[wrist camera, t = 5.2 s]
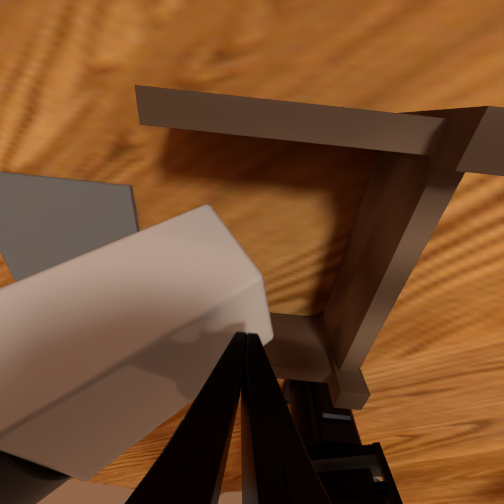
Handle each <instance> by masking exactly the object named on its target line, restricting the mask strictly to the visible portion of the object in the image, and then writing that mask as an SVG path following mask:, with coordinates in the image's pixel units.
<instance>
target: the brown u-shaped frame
mask: <svg viewBox="0 0 504 504" xmlns="http://www.w3.org/2000/svg"><path fill="white" fill-rule="evenodd" d="M135 92H136V99H137V107H138V114H139V122H140V125H149V126H158V127H167V128H177V129H186V130H196V131H205V132H214V133H224V134H233V135H242V136H252V137H261V138H271V139H280V140H289V141H299V142H308V143H318V144H327V145H336V146H346V147H355V148H364V149H374V151H377V152H378V155H377V158H376V160H375V163H374V166H373V169H372V172H371V175H370V178H369V181H368V184H367V187H366V190H365V193H364V196H363V199H362V202H361V205H360V207H359V210H358V213H357V216H356V219H355V222H354V225H353V228H352V231H351V234H350V237H349V240H348V243H347V246H346V249H345V252H344V254H343V257H342V260H341V263H340V266H339V269H338V272H337V275H336V278H335V281H334V284H333V287H332V290H331V293H330V296H329V299H328V301H327V304H326V307H325V310H324V313H323V315H319V317H318V318H317V317H307V316H298V315H288V314H278V313H270V318H271V323H272V328H273V334H274V336H273V339H272V340H271V341H269V342H268V343H267V344H265V345H264V346H263V347H264V349H265V352H266V354H267V357H268V359H269V361H270V364H271V366H272V369H273V371H274V374H275V376H276V378H282V379H291V380H301V381H311V382H321V383H328V387H329V391H330V395H331V400H332V404H333V407H335V408H345V409H355V410H361V409H362V407H363V406H364V404H365V403H366V401H367V400H368V398H369V396H370V392H369V390H368V387H367V385H366V382H365V380H364V377H363V374H362V372H361V369H360V367H361V365H362V363H363V361H364V360H365V358H366V356H367V354H368V352H369V350H370V348H371V346H372V345H373V343H374V341H375V339H376V337H377V335H378V333H379V332H380V330H381V328H382V326H383V324H384V322H385V320H386V319H387V317H388V315H389V313H390V311H391V309H392V307H393V306H394V304H395V302H396V300H397V298H398V296H399V294H400V293H401V291H402V289H403V287H404V285H405V283H406V281H407V279H408V278H409V276H410V274H411V272H412V270H413V268H414V266H415V265H416V263H417V261H418V259H419V257H420V255H421V253H422V252H423V250H424V248H425V246H426V244H427V242H428V240H429V239H430V237H431V235H432V233H433V231H434V229H435V227H436V226H437V224H438V222H439V220H440V218H441V216H442V214H443V212H444V211H445V209H446V207H447V205H448V203H449V201H450V199H451V198H452V196H453V194H454V192H455V190H456V188H457V186H458V185H459V183H460V181H461V179H462V177H463V175H464V173H465V172H471V173H480V174H490V175H499V176H504V108H503V107H494V106H482V107H469V108H456V109H443V110H430V111H417V112H404V113H390V112H381V111H372V110H362V109H353V108H344V107H335V106H325V105H316V104H307V103H297V102H288V101H279V100H269V99H260V98H251V97H242V96H232V95H223V94H214V93H204V92H195V91H186V90H176V89H167V88H158V87H149V86H139V85H135Z"/></svg>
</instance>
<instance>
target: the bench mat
mask: <svg viewBox="0 0 504 504" xmlns="http://www.w3.org/2000/svg"><path fill="white" fill-rule="evenodd" d="M136 232H139V226H138V220H137V214H136V208H135V202H134V196H133V190H132V186H131V185H121V184H112V183H102V182H93V181H83V180H74V179H64V178H55V177H45V176H36V175H26V174H17V173H7V172H0V253H1V255H2V257H3V259H4V261H5V262H6V264H7V266H8V268H9V270H10V272H11V274H12V276H13V277H14V279H15V281H16V282H17V281H19V280H21V279H24V278H26V277H29V276H31V275H34V274H36V273H39V272H41V271H43V270H46V269H48V268H51V267H53V266H56V265H58V264H61V263H63V262H65V261H68V260H70V259H73V258H75V257H78V256H80V255H83V254H85V253H87V252H90V251H92V250H95V249H97V248H100V247H102V246H105V245H107V244H109V243H112V242H114V241H117V240H119V239H122V238H124V237H127V236H129V235H131V234H134V233H136Z"/></svg>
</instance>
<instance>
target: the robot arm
mask: <svg viewBox="0 0 504 504" xmlns="http://www.w3.org/2000/svg"><path fill="white" fill-rule="evenodd" d="M240 393H241V449H242V504H403V503H402V500H401V498H400V495H399V492H398V490H397V487H396V485H395V482H394V479H393V477H392V474H391V471H390V469H389V466H388V463H387V461H386V458H385V456H384V453H383V450H382V448H381V445H380V442H375V443H373V444H370V445H362V443H361V439H360V436H359V433H358V430H357V426H356V423H355V420H354V417H353V413H352V410H351V409H345V408H335V407H333V404H332V400H331V395H330V391H329V387H328V383H321V382H311V381H301V380H291V379H287V380H286V384H285V387H284V391H283V393H282V391H281V388H280V386H279V383H278V381H277V379H276V376H275V374H274V371H273V369H272V366H271V364H270V361H269V359H268V357H267V354H266V352H265V349H264V347H263V344H262V342H261V340H260V337H259V335H258V334H257V333H250V332H249V333H246V332H241V331H237V332H235V334H234V336H233V337H232V339H231V341H230V342H229V344H228V346H227V347H226V349H225V350H224V352H223V354H222V355H221V357H220V359H219V360H218V362H217V364H216V365H215V367H214V369H213V370H212V372H211V374H210V375H209V377H208V379H207V380H206V382H205V384H204V385H203V387H202V388H201V390H200V392H199V393H198V395H197V397H196V398H195V400H194V402H193V403H192V405H191V407H190V408H189V410H188V412H187V413H186V415H185V417H184V419H183V420H182V421H181V423H180V425H179V426H178V428H177V429H176V431H175V433H174V434H173V436H172V437H171V439H170V441H169V442H168V444H167V445H166V447H165V448H164V450H163V451H162V453H161V454H160V456H159V457H158V459H157V460H156V461H155V463H154V464H153V466H152V467H151V468H150V470H149V471H148V473H147V474H146V475H145V477H144V478H143V479H142V481H141V482H140V483H139V485H138V486H137V487H136V489H135V490H134V492H133V493H132V494H131V496H130V497H129V498H128V500H127V501H126V502H125V504H218V500H219V495H220V491H221V486H222V481H223V476H224V471H225V466H226V462H227V457H228V452H229V447H230V442H231V438H232V433H233V428H234V423H235V418H236V413H237V409H238V404H239V399H240ZM287 404H291V413H292V415H291V413H290V410H289V408H288V405H287ZM381 476H382V477H383V480H384V481H379V482H375V481H374V478H373V477H381Z"/></svg>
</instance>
